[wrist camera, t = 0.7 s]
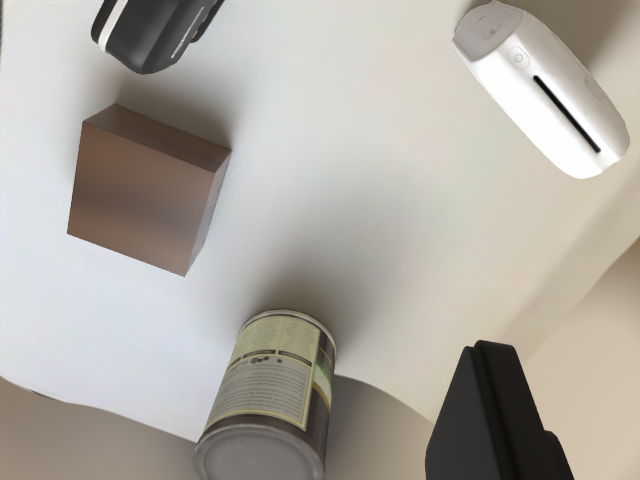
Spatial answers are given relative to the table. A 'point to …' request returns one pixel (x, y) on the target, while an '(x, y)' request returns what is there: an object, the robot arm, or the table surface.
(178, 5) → the black rounded block
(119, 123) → the block
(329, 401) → the coffee can
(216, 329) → the table surface
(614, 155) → the photo printer
